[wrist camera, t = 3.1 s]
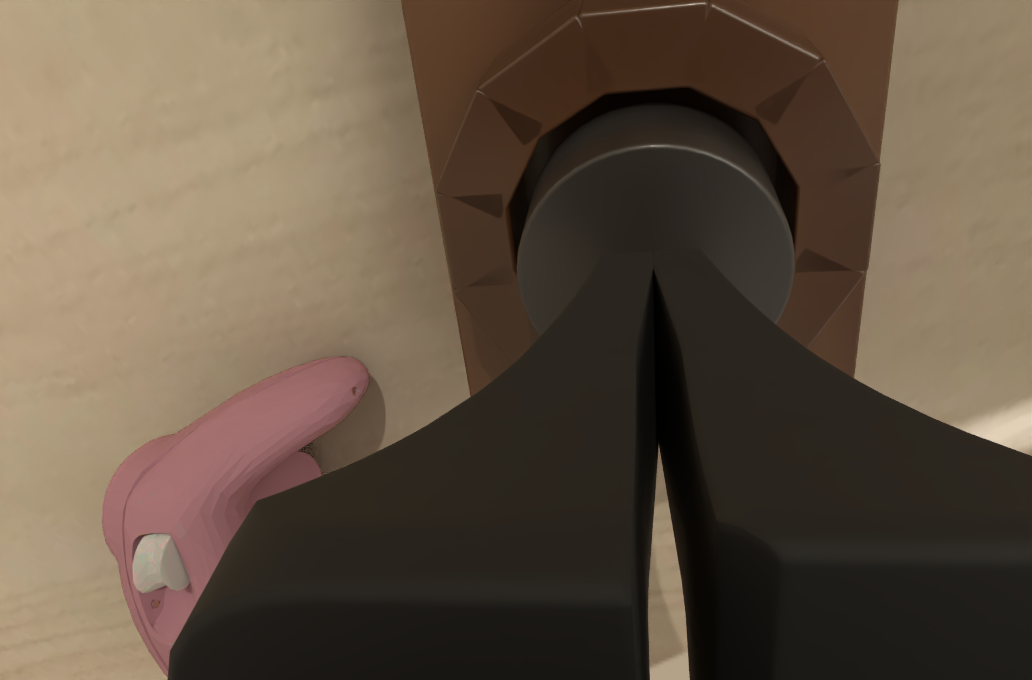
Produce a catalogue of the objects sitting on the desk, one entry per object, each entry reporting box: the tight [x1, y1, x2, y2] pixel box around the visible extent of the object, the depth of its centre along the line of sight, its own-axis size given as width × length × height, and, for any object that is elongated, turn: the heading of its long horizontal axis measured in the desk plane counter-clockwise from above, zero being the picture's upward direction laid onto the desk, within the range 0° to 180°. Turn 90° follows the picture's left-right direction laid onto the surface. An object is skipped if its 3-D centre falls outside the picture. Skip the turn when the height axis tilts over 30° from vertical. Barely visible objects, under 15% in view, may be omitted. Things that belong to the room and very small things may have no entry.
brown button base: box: [401, 0, 899, 397], centre depth 15 cm, size 8×10×4 cm
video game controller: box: [102, 357, 370, 677], centre depth 21 cm, size 10×5×7 cm, turn 17°
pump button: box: [517, 103, 795, 336], centre depth 13 cm, size 4×4×2 cm
